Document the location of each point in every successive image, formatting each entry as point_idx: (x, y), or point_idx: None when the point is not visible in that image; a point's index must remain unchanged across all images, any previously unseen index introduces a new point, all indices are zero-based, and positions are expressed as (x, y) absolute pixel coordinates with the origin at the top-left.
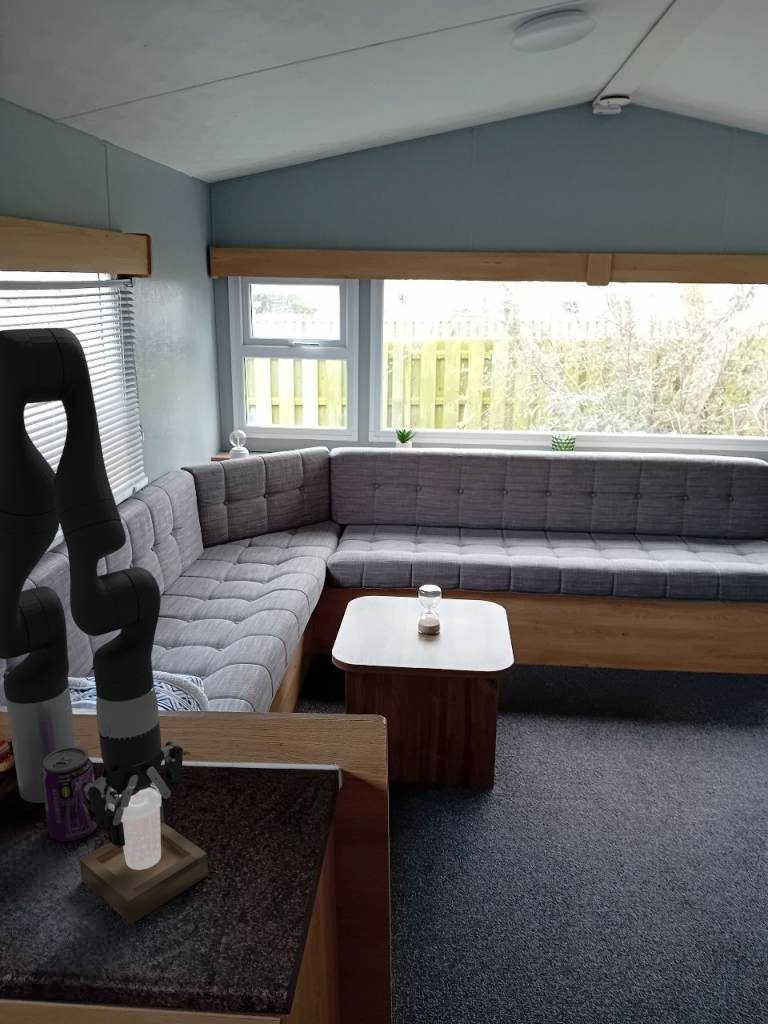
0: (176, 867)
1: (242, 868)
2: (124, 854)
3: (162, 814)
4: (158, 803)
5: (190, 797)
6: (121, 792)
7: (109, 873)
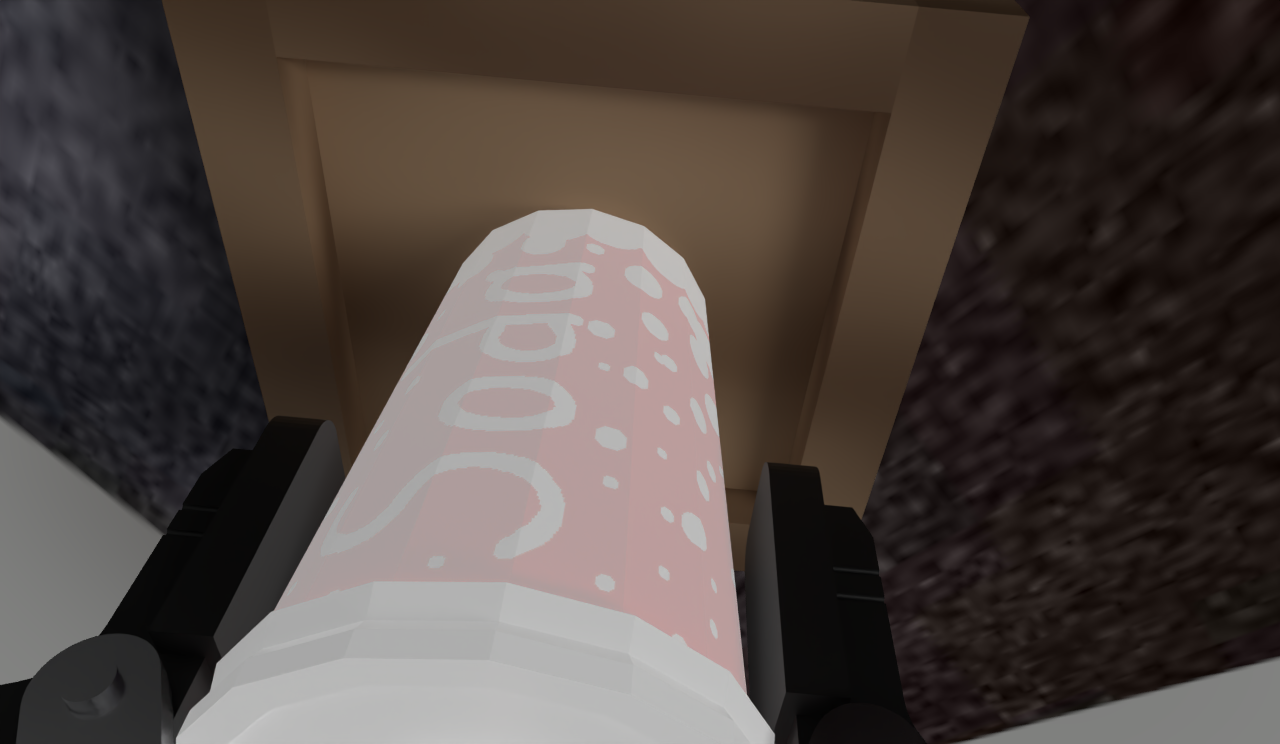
0: None
1: (952, 544)
2: (441, 303)
3: (751, 625)
4: None
5: None
6: None
7: (300, 288)
